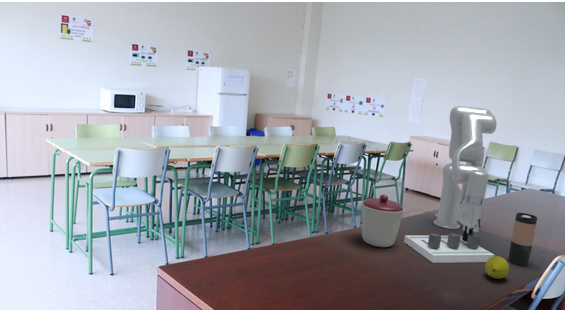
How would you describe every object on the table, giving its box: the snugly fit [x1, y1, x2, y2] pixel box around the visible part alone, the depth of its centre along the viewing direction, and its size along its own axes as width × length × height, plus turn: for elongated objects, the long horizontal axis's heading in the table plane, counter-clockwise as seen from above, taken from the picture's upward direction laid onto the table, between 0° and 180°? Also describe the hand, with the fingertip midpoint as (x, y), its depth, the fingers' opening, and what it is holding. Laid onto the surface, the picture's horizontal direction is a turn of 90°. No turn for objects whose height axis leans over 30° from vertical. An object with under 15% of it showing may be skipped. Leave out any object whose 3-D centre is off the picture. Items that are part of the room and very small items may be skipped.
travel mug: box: [507, 212, 538, 267], centre depth 183 cm, size 8×8×20 cm
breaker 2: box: [447, 233, 462, 248], centre depth 185 cm, size 3×4×5 cm
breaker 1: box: [428, 233, 442, 248], centre depth 183 cm, size 3×4×5 cm
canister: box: [360, 194, 406, 248], centre depth 190 cm, size 18×18×21 cm
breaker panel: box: [403, 235, 496, 264], centre depth 189 cm, size 22×28×3 cm
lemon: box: [484, 255, 510, 280], centre depth 165 cm, size 11×8×8 cm
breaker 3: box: [466, 233, 481, 248], centre depth 187 cm, size 3×4×5 cm
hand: (466, 240), depth 191 cm, fingers closed
